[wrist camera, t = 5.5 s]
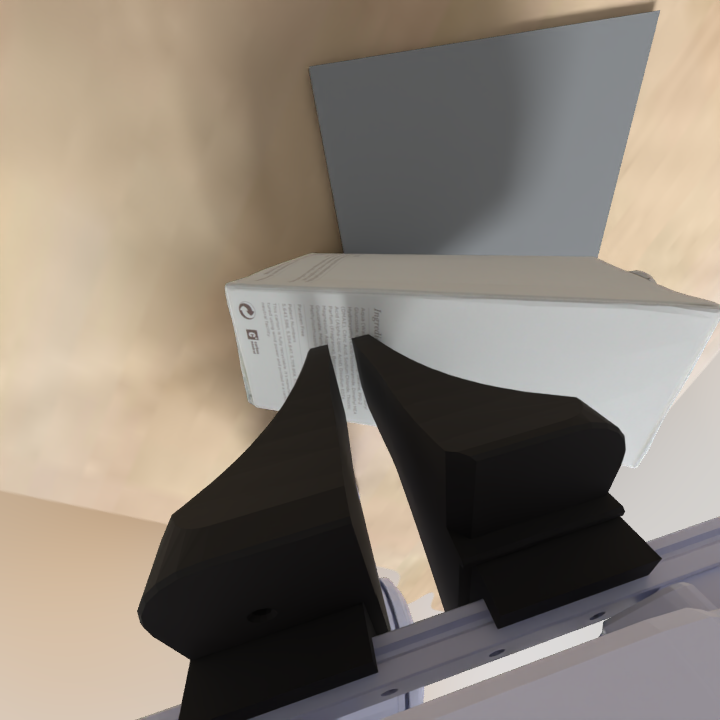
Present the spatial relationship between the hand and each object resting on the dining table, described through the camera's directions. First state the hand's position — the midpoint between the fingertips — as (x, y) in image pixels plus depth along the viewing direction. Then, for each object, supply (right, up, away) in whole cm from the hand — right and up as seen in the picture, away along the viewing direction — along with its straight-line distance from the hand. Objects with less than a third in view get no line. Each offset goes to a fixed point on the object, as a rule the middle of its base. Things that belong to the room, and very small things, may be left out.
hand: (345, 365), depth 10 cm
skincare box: (-4, +3, +5) cm, 7 cm away
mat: (+9, +7, +9) cm, 15 cm away
